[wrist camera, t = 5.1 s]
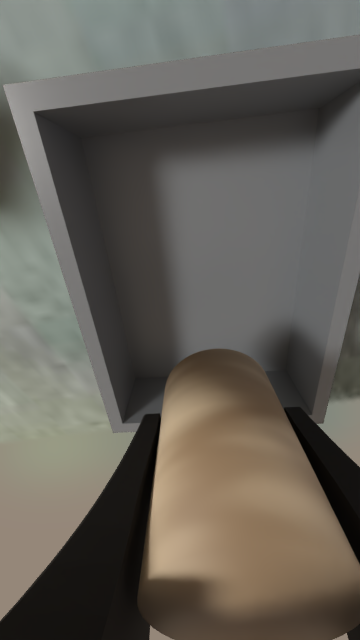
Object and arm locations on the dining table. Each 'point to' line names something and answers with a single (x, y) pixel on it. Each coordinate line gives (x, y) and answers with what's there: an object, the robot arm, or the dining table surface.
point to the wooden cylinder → (240, 516)
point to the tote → (204, 213)
